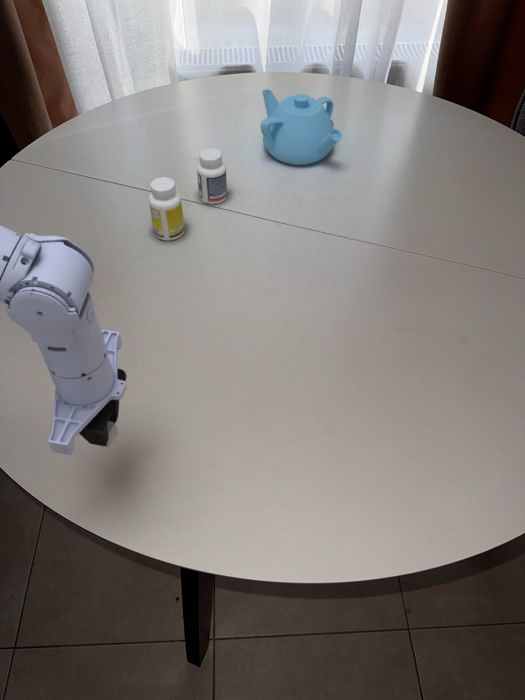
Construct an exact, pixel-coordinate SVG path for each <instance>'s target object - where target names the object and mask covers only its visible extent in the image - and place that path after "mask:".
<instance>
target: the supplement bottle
mask: <svg viewBox="0 0 525 700" xmlns="http://www.w3.org/2000/svg"><path fill="white" fill-rule="evenodd" d="M150 191H151V193H150V194H149V196H148V205H149V211H150V217H151V223H152V229H153V233H154V235H155V237H156V238H158V239H159V240H162V241H175V240H177V239H179V238H181V237H182V236H183V234H184V233H185V221H184V213H183V205H182V198H181V195H180V192H178V190H177V188H176V182H175V181H174V180H173V178H170V177H166V176H162V177H157V178H154V179H153V180H152V181H151V183H150Z"/></svg>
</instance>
